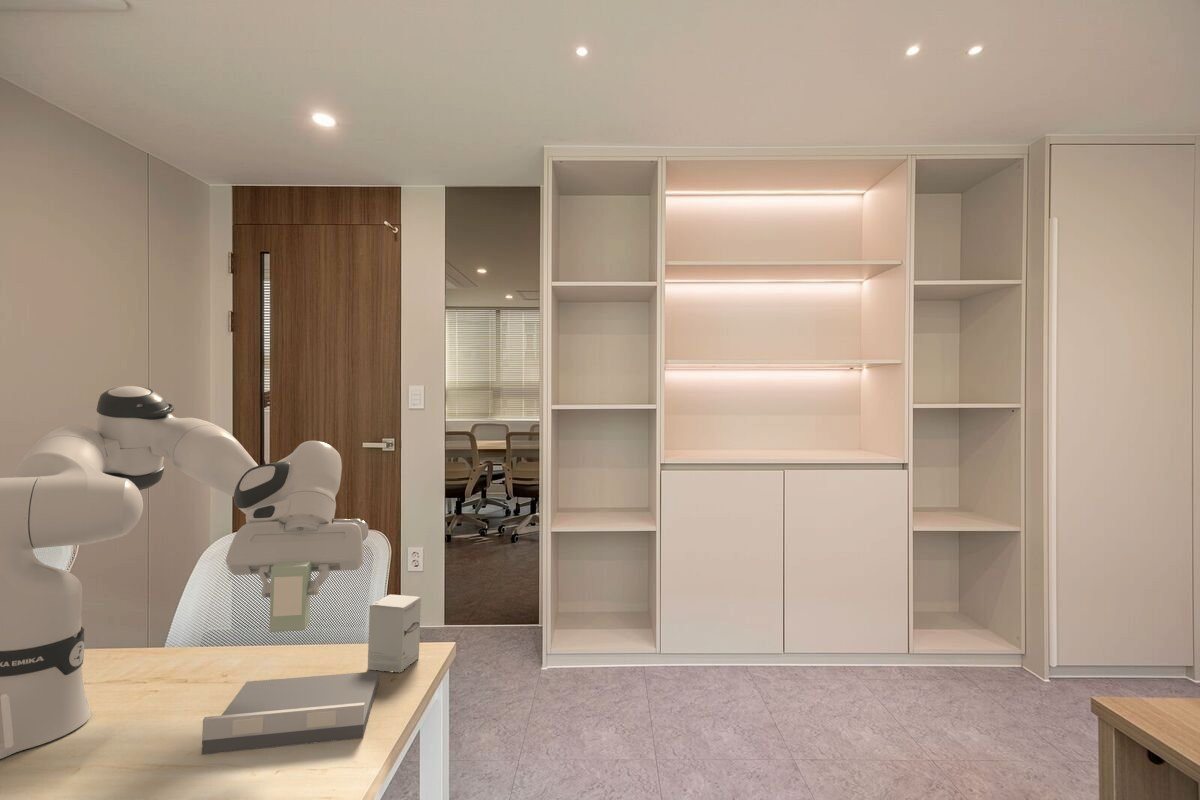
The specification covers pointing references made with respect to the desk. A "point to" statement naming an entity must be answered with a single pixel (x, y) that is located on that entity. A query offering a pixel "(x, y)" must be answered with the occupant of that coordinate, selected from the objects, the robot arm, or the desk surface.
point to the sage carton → (289, 596)
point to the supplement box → (394, 633)
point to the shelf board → (293, 712)
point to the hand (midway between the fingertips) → (289, 594)
